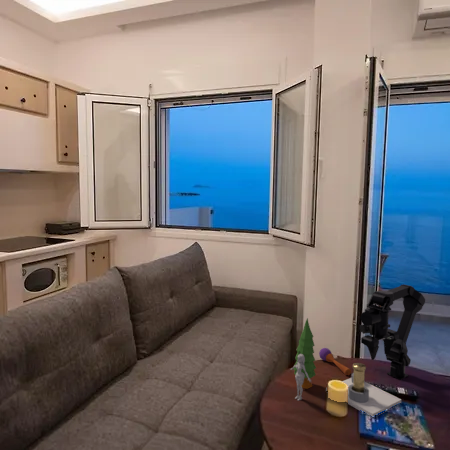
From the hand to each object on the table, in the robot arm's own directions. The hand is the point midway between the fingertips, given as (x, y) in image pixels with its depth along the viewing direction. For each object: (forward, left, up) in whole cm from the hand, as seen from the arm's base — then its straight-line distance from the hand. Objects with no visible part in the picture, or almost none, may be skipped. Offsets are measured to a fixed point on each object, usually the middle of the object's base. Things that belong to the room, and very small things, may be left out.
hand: (379, 356), depth 158 cm
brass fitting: (+19, +4, -10) cm, 22 cm away
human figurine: (+37, -10, -12) cm, 40 cm away
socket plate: (+15, +3, -12) cm, 19 cm away
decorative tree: (+28, -17, -12) cm, 35 cm away
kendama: (+3, -22, -12) cm, 25 cm away
